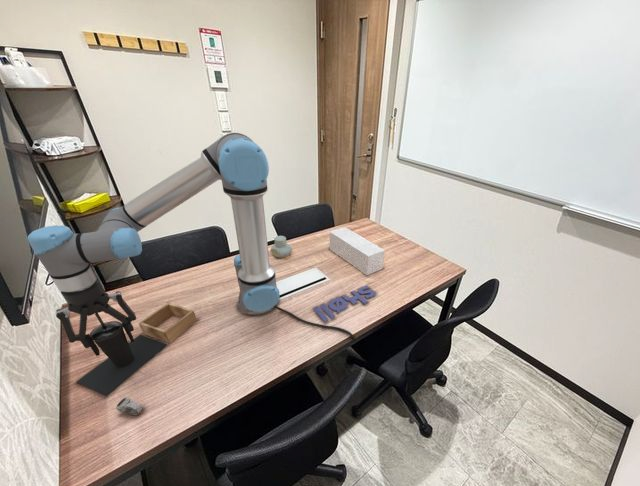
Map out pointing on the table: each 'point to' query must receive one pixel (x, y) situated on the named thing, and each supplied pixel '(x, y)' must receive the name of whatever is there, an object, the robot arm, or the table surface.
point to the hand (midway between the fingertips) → (115, 345)
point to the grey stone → (128, 402)
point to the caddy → (160, 315)
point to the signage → (343, 303)
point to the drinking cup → (112, 342)
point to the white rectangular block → (357, 250)
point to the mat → (111, 376)
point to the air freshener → (281, 247)
